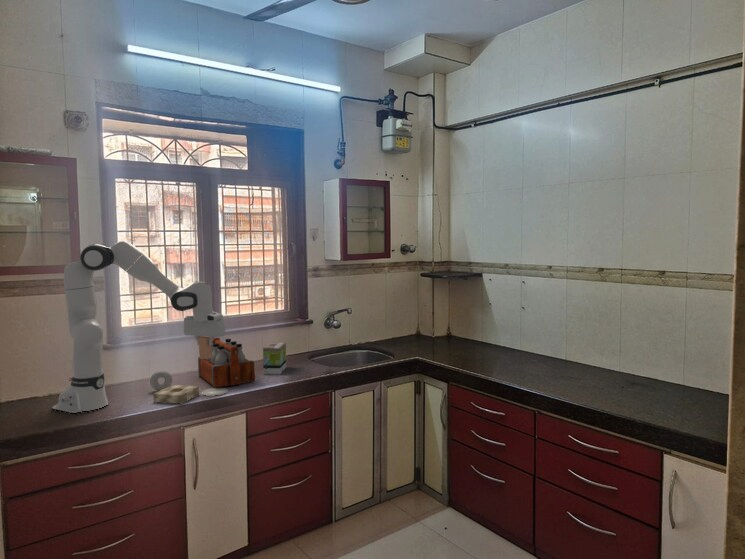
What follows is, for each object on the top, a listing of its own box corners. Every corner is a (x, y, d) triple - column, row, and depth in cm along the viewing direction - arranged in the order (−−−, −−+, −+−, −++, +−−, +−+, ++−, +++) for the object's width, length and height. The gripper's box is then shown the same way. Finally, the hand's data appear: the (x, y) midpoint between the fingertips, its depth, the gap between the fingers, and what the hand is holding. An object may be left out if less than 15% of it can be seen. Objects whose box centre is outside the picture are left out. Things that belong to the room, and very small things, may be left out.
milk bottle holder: (215, 389, 242) (214, 349, 241) (196, 374, 271) (195, 339, 270) (257, 382, 254) (256, 344, 253) (235, 369, 283) (234, 335, 282)
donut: (172, 388, 247) (172, 368, 246) (172, 390, 243) (171, 370, 242) (150, 390, 243) (149, 370, 243) (150, 392, 240) (149, 372, 239)
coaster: (196, 395, 235) (196, 394, 235) (210, 388, 247) (210, 386, 247) (219, 397, 232) (218, 396, 232) (232, 389, 244) (232, 388, 244)
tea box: (281, 374, 271) (280, 347, 270) (262, 374, 271) (262, 347, 270) (286, 367, 286) (286, 342, 285) (269, 367, 286) (268, 342, 285)
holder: (153, 402, 226) (153, 393, 226) (173, 393, 239) (173, 384, 239) (180, 404, 222) (180, 395, 222) (199, 395, 236) (198, 386, 236)
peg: (199, 358, 235) (198, 337, 234) (204, 356, 239) (203, 335, 238) (207, 358, 234) (205, 337, 233) (212, 356, 238) (210, 336, 237)
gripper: (179, 316, 234) (181, 345, 235) (218, 317, 229) (220, 347, 230) (187, 314, 240) (189, 342, 241) (226, 314, 235) (227, 344, 236)
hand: (205, 345), depth 236 cm, fingers closed on peg, 4 cm apart
